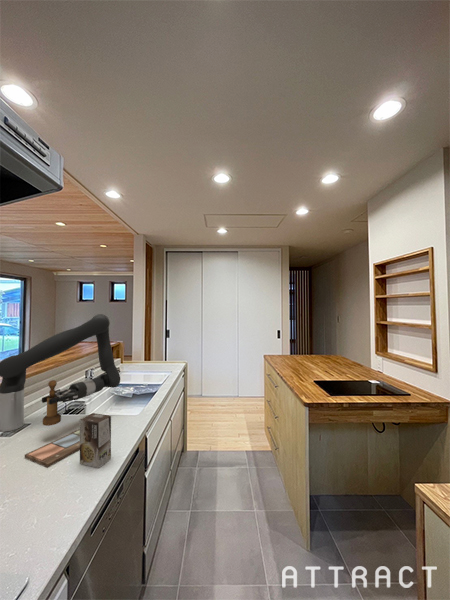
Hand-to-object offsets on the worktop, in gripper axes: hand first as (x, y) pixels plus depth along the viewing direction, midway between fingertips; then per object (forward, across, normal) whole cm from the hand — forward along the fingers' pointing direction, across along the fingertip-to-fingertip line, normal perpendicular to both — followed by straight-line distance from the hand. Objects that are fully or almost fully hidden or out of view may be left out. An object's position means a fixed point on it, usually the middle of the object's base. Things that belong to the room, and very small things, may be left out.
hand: (45, 401), depth 112 cm
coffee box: (+1, +31, +17) cm, 36 cm away
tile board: (-3, +12, +17) cm, 21 cm away
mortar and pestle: (-3, 0, +10) cm, 11 cm away
